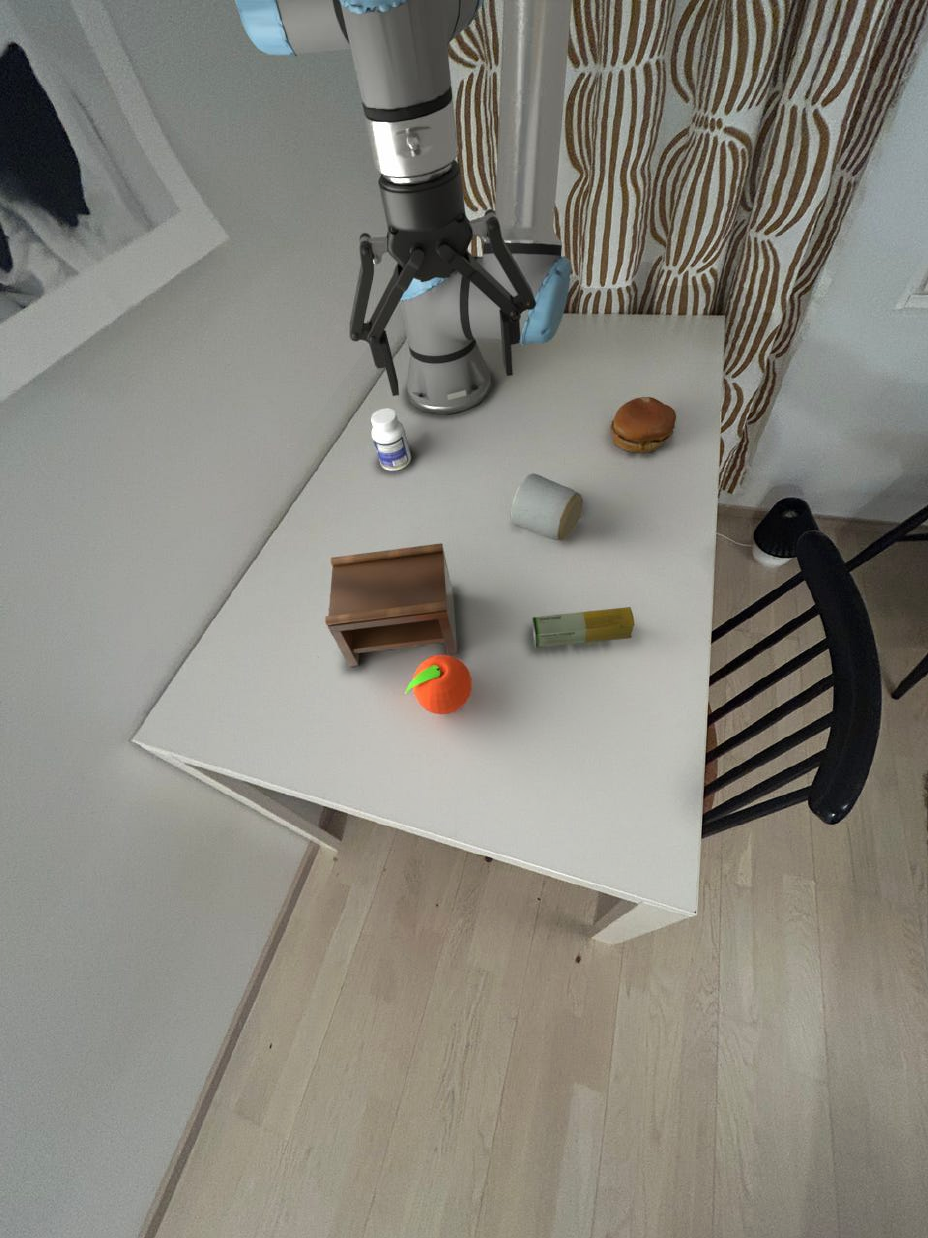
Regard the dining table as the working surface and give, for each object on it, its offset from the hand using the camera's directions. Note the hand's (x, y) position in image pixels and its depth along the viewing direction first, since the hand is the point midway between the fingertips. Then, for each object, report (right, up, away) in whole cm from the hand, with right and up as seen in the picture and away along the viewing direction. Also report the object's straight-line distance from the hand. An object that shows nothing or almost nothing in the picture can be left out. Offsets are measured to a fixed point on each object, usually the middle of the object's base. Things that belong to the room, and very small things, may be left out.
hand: (451, 379), depth 70 cm
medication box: (+16, -31, +4) cm, 35 cm away
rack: (-7, -30, +8) cm, 31 cm away
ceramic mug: (+14, -14, +16) cm, 26 cm away
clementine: (-1, -38, +1) cm, 38 cm away
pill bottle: (-10, -2, +28) cm, 30 cm away
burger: (+30, +1, +24) cm, 39 cm away
